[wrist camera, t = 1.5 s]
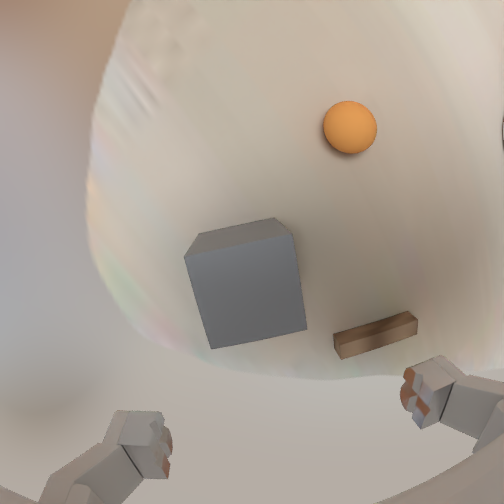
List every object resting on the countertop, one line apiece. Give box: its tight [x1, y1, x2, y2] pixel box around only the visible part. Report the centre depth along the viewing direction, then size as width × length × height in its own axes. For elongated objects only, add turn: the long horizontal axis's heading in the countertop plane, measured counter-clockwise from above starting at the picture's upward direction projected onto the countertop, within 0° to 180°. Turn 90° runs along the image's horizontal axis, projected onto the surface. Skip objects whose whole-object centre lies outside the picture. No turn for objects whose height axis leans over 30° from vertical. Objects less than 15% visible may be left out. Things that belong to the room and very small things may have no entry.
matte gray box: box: [184, 218, 307, 349], centre depth 25 cm, size 7×7×9 cm
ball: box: [323, 101, 377, 154], centre depth 24 cm, size 5×5×5 cm
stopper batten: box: [333, 311, 418, 360], centre depth 31 cm, size 10×2×2 cm, turn 102°
